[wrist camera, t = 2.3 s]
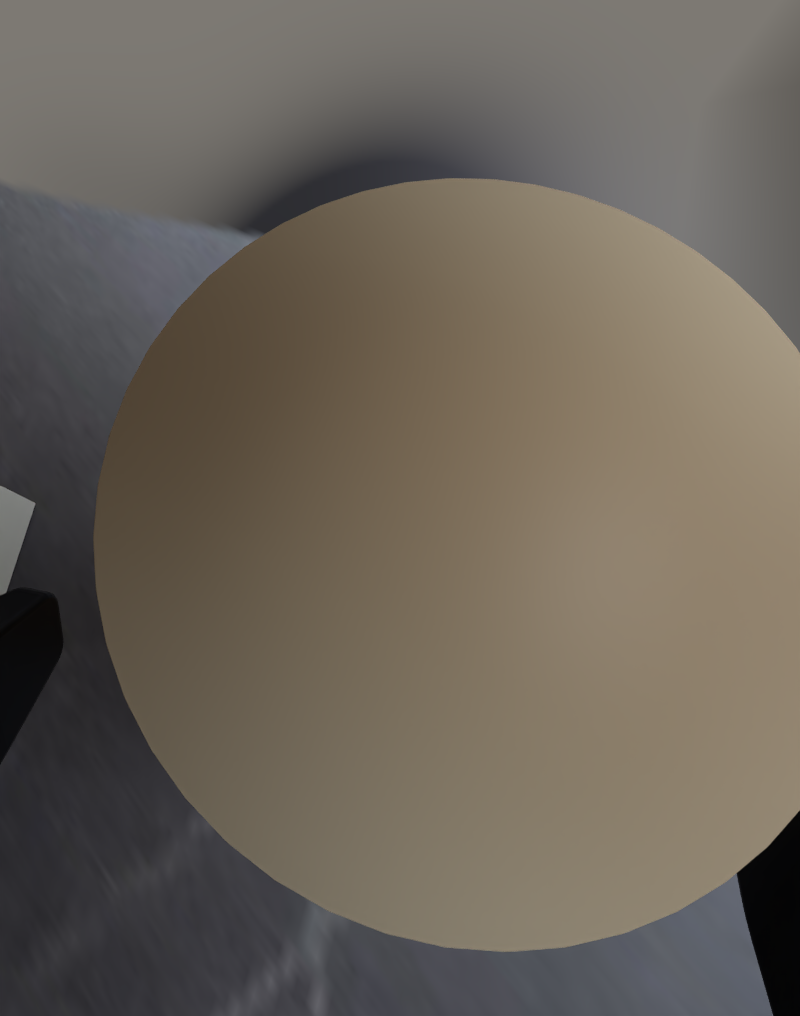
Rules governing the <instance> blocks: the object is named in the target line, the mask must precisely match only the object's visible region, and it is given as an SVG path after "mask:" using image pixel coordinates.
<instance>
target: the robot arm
mask: <svg viewBox="0 0 800 1016" xmlns="http://www.w3.org/2000/svg"><path fill="white" fill-rule="evenodd" d="M62 649H63V634H62V627H61V620H60V613H59V605H58V601H57V598H56V597H55V596H54V594H52V593H50V592H45V591H40V590H35V589H30V588H17V589H14V590H11V591H9V592H7V593H4V594H2V595H0V764H1V762H2V761H3V759H4V757H5V756H6V754H7V752H8V750H9V749H10V747H11V745H12V743H13V741H14V740H15V738H16V736H17V734H18V732H19V730H20V729H21V727H22V725H23V723H24V721H25V720H26V718H27V716H28V714H29V712H30V711H31V709H32V707H33V705H34V703H35V702H36V700H37V698H38V696H39V694H40V693H41V691H42V689H43V687H44V685H45V684H46V682H47V680H48V678H49V676H50V675H51V673H52V671H53V669H54V667H55V666H56V664H57V662H58V660H59V658H60V655H61V653H62ZM737 878H738V883H739V888H740V894H741V898H742V903H743V907H744V912H745V917H746V920H747V924H748V928H749V932H750V936H751V940H752V943H753V947H754V950H755V953H756V957H757V960H758V964H759V967H760V971H761V974H762V978H763V981H764V985H765V988H766V992H767V995H768V999H769V1002H770V1006H771V1009H772V1013H773V1016H800V811H799V812H798V813H797V814H796V815H795V816H794V817H793V819H792V820H791V821H790V822H789V823H788V824H787V825H786V827H785V828H784V829H783V830H782V831H781V832H780V833H779V835H778V836H777V837H776V838H775V839H774V840H773V841H772V843H771V844H770V845H769V846H768V847H767V848H766V849H765V850H763V851H762V852H761V853H760V854H759V855H757V856H756V857H755V858H754V859H753V860H751V861H750V862H749V863H748V864H747V865H746V866H744V867H743V868H742V869H741V870H740V871H738V872H737Z"/></svg>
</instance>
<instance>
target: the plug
mask: <svg viewBox="0 0 800 1016" xmlns="http://www.w3.org/2000/svg"><path fill="white" fill-rule="evenodd" d="M93 540H94V560H95V580H96V593H97V598H98V603H99V608H100V614H101V619H102V624H103V629H104V634H105V640H106V645H107V648H108V650H109V653H110V656H111V659H112V662H113V665H114V668H115V671H116V674H117V677H118V680H119V683H120V685H121V688H122V691H123V694H124V697H125V699H126V701H127V703H128V705H129V707H130V709H131V711H132V713H133V715H134V717H135V719H136V721H137V723H138V725H139V727H140V729H141V731H142V733H143V735H144V737H145V739H146V740H147V742H148V744H149V746H150V748H151V750H152V752H153V753H154V754H155V756H156V757H157V759H158V760H159V761H160V763H161V764H162V766H163V767H164V769H165V770H166V771H167V773H168V774H169V776H170V777H171V779H172V780H173V781H174V783H175V784H176V786H177V787H178V788H179V790H180V791H181V793H182V794H183V796H184V797H185V798H186V799H187V800H188V802H189V803H190V804H191V805H192V806H193V807H194V808H195V809H196V810H197V811H198V812H199V813H200V814H201V815H202V816H203V817H204V818H205V820H206V821H207V822H208V823H209V824H210V825H211V826H212V827H213V828H214V829H215V830H216V831H217V832H218V833H219V834H220V835H221V836H222V837H223V839H224V840H225V841H226V842H227V843H229V844H230V845H231V846H232V847H234V848H235V849H236V850H237V851H239V852H240V853H241V854H242V855H244V856H245V857H246V858H248V859H249V860H250V861H251V862H253V863H254V864H255V865H256V866H258V867H259V868H260V869H261V870H263V871H264V872H265V873H267V874H268V875H269V876H270V877H272V878H273V879H274V880H275V881H277V882H279V883H281V884H282V885H284V886H286V887H288V888H289V889H291V890H293V891H295V892H296V893H298V894H300V895H301V896H303V897H305V898H307V899H308V900H310V901H312V902H314V903H315V904H317V905H319V906H321V907H322V908H324V909H326V910H327V911H330V912H332V913H335V914H337V915H340V916H342V917H345V918H347V919H350V920H352V921H355V922H357V923H360V924H363V925H365V926H368V927H370V928H373V929H375V930H378V931H380V932H383V933H385V934H389V935H394V936H398V937H402V938H407V939H411V940H415V941H420V942H424V943H429V944H433V945H437V946H442V947H446V948H460V949H473V950H486V951H500V952H512V951H525V950H538V949H551V948H563V947H569V946H574V945H578V944H582V943H586V942H590V941H595V940H599V939H603V938H607V937H612V936H616V935H620V934H624V933H626V932H629V931H631V930H634V929H636V928H638V927H641V926H643V925H646V924H648V923H651V922H653V921H656V920H658V919H660V918H663V917H665V916H668V915H670V914H673V913H675V912H677V911H679V910H681V909H682V908H684V907H686V906H687V905H689V904H691V903H692V902H694V901H696V900H697V899H699V898H700V897H702V896H704V895H705V894H707V893H709V892H710V891H712V890H714V889H715V888H717V887H719V886H720V885H722V884H724V883H725V882H726V881H728V880H729V879H730V878H731V877H732V876H734V875H735V874H736V873H737V872H738V871H740V870H741V869H742V868H743V867H744V866H746V865H747V864H748V863H749V862H750V861H751V860H753V859H754V858H755V857H756V856H757V855H759V854H760V853H761V852H762V851H763V850H765V849H766V848H767V847H768V846H769V845H770V844H771V843H772V841H773V840H774V839H775V838H776V837H777V836H778V835H779V833H780V832H781V831H782V830H783V829H784V828H785V827H786V825H787V824H788V823H789V822H790V821H791V820H792V819H793V817H794V816H795V815H796V814H797V813H798V812H799V811H800V353H799V352H798V350H797V348H796V347H795V345H794V344H793V343H792V342H791V341H790V339H789V338H788V337H787V336H786V335H785V334H784V332H783V331H782V330H781V329H780V328H779V326H778V325H777V324H776V323H775V322H774V321H773V319H772V318H771V317H770V316H769V314H768V313H767V312H766V311H765V310H764V309H763V308H762V307H761V306H760V305H759V304H758V303H757V302H756V301H755V300H754V299H753V298H752V297H751V296H750V295H748V294H747V293H746V292H745V291H744V290H743V289H742V288H741V287H740V286H739V285H738V284H737V283H736V282H735V281H734V280H733V279H732V278H730V277H729V276H728V275H726V274H725V273H724V272H723V271H721V270H720V269H719V268H717V267H716V266H715V265H713V264H712V263H711V262H710V261H708V260H707V259H706V258H704V257H703V256H702V255H701V254H699V253H698V252H696V251H695V250H693V249H691V248H690V247H688V246H687V245H685V244H684V243H682V242H680V241H679V240H677V239H675V238H674V237H672V236H671V235H669V234H667V233H665V232H664V231H662V230H661V229H659V228H657V227H655V226H653V225H651V224H649V223H647V222H644V221H642V220H640V219H638V218H636V217H634V216H632V215H630V214H628V213H626V212H624V211H622V210H619V209H617V208H614V207H611V206H608V205H605V204H602V203H600V202H597V201H594V200H591V199H588V198H585V197H583V196H580V195H577V194H573V193H568V192H564V191H560V190H556V189H552V188H547V187H543V186H539V185H534V184H526V183H519V182H511V181H503V180H495V179H455V178H454V179H453V178H448V179H437V180H426V181H416V182H406V183H401V184H396V185H391V186H386V187H382V188H377V189H372V190H367V191H363V192H360V193H357V194H354V195H351V196H348V197H345V198H342V199H339V200H336V201H333V202H330V203H327V204H324V205H321V206H319V207H317V208H315V209H312V210H310V211H308V212H306V213H304V214H302V215H300V216H297V217H295V218H293V219H291V220H289V221H287V222H285V223H283V224H281V225H279V226H278V227H276V228H274V229H273V230H271V231H270V232H268V233H266V234H265V235H263V236H262V237H260V238H258V239H257V240H255V241H254V242H252V243H251V244H249V245H247V246H246V247H244V248H243V249H242V250H240V251H239V252H238V253H237V254H236V255H234V256H233V257H232V258H231V259H229V260H228V261H227V262H226V263H225V264H223V265H222V266H221V267H220V268H218V269H217V270H216V271H215V272H213V273H212V274H211V275H210V276H209V277H208V278H207V279H206V280H205V281H204V282H203V283H202V284H201V285H200V286H199V287H198V288H197V289H196V290H195V291H194V292H193V294H192V295H191V296H190V297H189V298H188V299H187V300H186V301H185V302H184V303H183V304H182V305H181V306H180V307H179V308H178V309H177V311H176V312H175V313H174V315H173V316H172V318H171V319H170V320H169V322H168V323H167V324H166V326H165V327H164V328H163V330H162V331H161V333H160V334H159V335H158V337H157V338H156V339H155V341H154V342H153V344H152V345H151V346H150V348H149V350H148V351H147V353H146V355H145V357H144V359H143V361H142V363H141V364H140V366H139V368H138V370H137V372H136V374H135V375H134V377H133V379H132V381H131V383H130V385H129V386H128V388H127V390H126V393H125V396H124V398H123V401H122V404H121V406H120V409H119V411H118V414H117V417H116V419H115V422H114V425H113V427H112V430H111V432H110V435H109V439H108V444H107V448H106V452H105V457H104V461H103V465H102V469H101V474H100V478H99V482H98V490H97V501H96V512H95V523H94V535H93Z"/></svg>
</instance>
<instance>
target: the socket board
mask: <svg viewBox="0 0 800 1016" xmlns="http://www.w3.org/2000/svg"><path fill="white" fill-rule="evenodd" d="M35 504H36V503H34V502H32V501H30V500H28V499H26V498H24V497H22V496H20V495H18V494H16V493H14V492H12V491H10V490H8V489H6V488H4V487H2V486H0V595H2V594H4V593H6V592H7V589H8V586H9V583H10V580H11V577H12V573H13V570H14V567H15V564H16V561H17V558H18V555H19V552H20V549H21V546H22V543H23V540H24V537H25V534H26V531H27V528H28V525H29V522H30V519H31V516H32V513H33V510H34V507H35Z"/></svg>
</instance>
